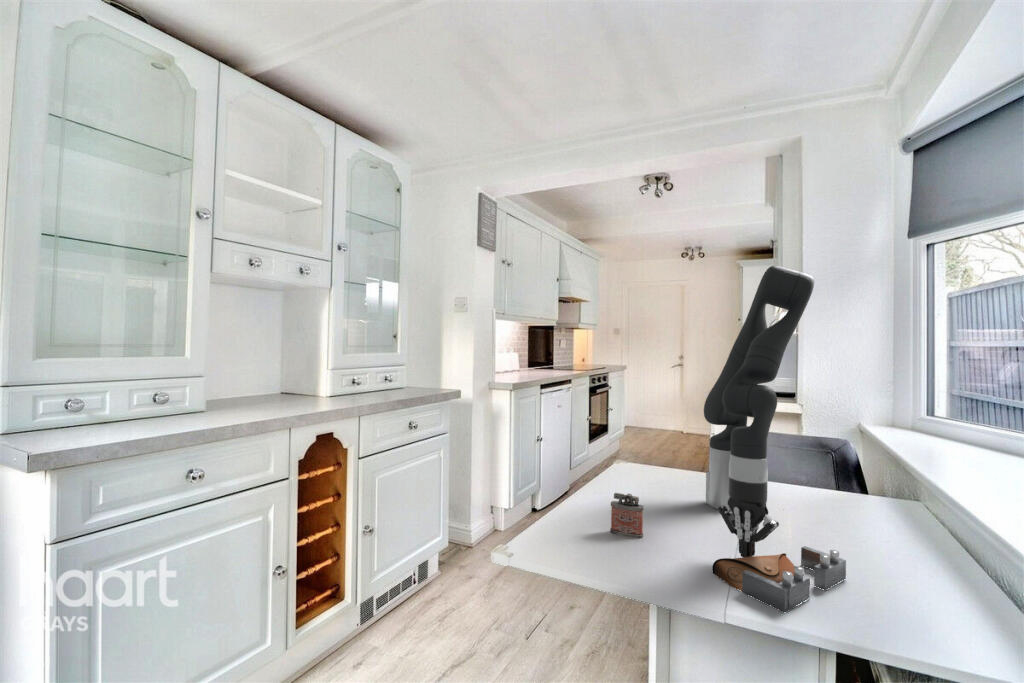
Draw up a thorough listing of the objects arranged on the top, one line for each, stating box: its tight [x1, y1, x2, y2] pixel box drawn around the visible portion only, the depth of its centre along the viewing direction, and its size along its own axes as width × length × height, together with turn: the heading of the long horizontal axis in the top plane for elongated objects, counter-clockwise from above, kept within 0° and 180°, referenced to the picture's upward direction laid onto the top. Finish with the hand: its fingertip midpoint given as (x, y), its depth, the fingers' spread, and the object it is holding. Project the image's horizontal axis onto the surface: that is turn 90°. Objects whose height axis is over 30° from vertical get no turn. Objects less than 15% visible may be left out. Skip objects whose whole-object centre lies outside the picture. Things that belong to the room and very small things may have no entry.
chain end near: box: [741, 565, 811, 613], centre depth 91 cm, size 8×9×6 cm
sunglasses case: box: [711, 552, 796, 591], centre depth 99 cm, size 18×7×7 cm, turn 104°
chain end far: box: [800, 545, 847, 591], centre depth 99 cm, size 8×9×6 cm
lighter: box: [609, 492, 645, 540], centre depth 120 cm, size 8×3×10 cm, turn 65°
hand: (746, 557), depth 104 cm, fingers closed
